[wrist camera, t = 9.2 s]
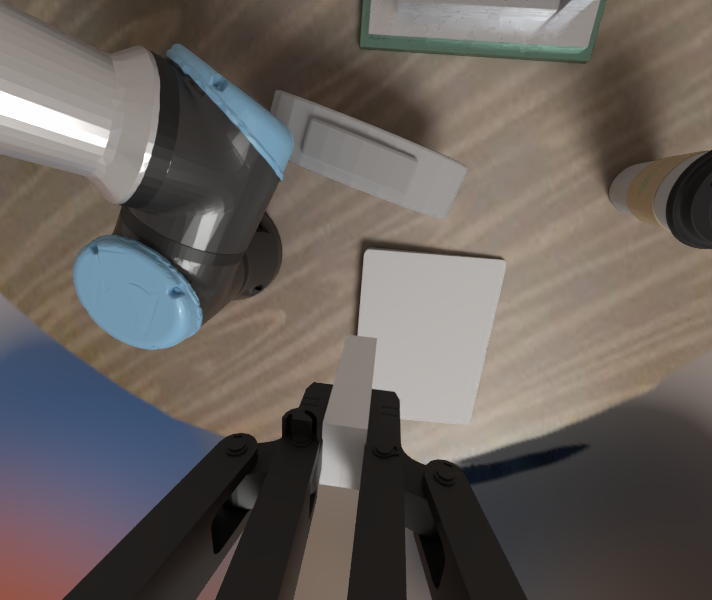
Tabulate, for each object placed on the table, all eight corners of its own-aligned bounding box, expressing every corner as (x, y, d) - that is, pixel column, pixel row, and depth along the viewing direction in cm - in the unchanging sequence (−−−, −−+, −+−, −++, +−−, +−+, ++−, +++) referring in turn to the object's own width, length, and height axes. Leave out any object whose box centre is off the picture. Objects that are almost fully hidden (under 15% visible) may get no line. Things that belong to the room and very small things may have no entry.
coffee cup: (615, 141, 43) (720, 129, 29) (692, 158, 43) (835, 154, 29) (581, 218, 47) (660, 240, 33) (652, 233, 46) (762, 263, 32)
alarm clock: (459, 167, 46) (481, 168, 34) (439, 212, 48) (453, 228, 36) (292, 99, 45) (255, 76, 33) (279, 149, 47) (240, 143, 36)
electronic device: (365, 245, 51) (364, 248, 49) (505, 258, 50) (510, 262, 48) (352, 407, 62) (351, 414, 60) (468, 421, 60) (470, 429, 58)
